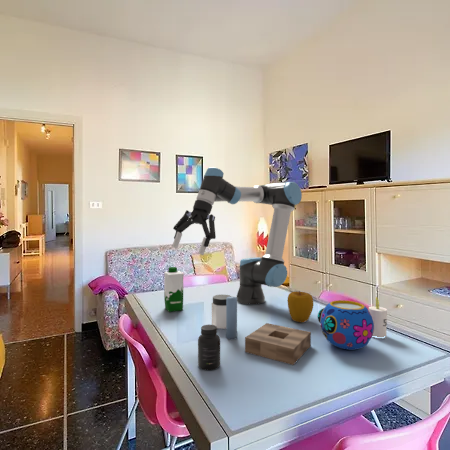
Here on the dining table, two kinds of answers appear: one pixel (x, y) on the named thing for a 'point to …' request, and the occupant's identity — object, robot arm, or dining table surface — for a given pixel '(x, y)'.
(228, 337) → the dowel
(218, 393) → the dining table surface
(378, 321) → the candle
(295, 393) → the dining table surface
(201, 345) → the supplement bottle
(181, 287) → the milk carton
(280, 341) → the socket block
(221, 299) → the jar
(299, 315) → the apple
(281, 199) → the robot arm
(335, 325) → the ceramic pot
